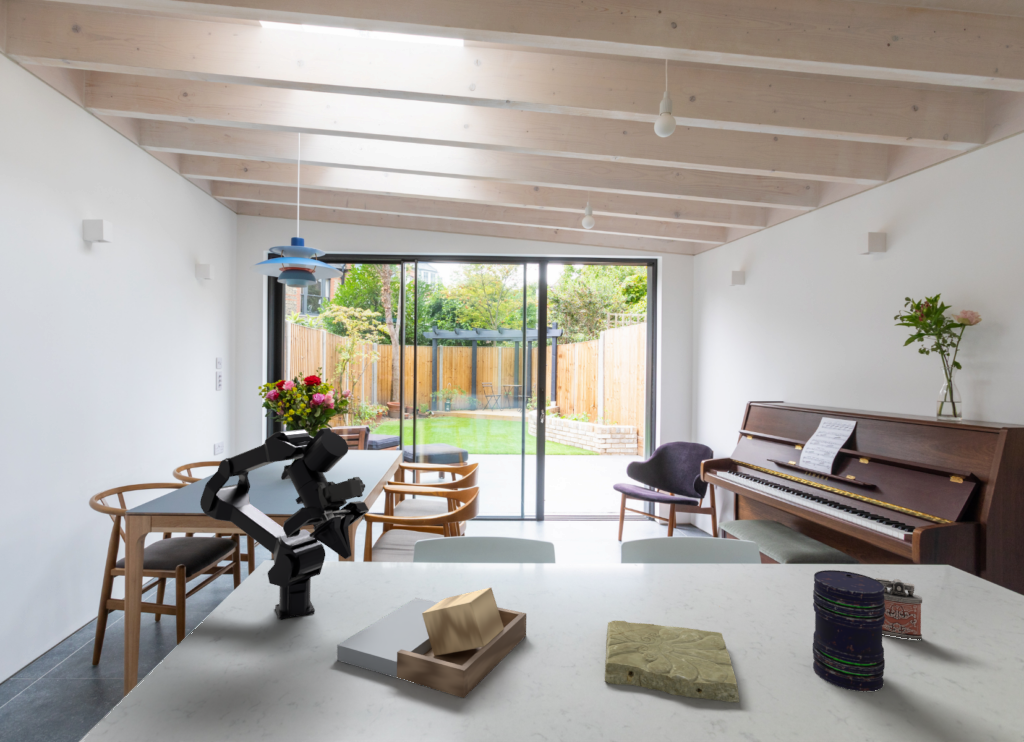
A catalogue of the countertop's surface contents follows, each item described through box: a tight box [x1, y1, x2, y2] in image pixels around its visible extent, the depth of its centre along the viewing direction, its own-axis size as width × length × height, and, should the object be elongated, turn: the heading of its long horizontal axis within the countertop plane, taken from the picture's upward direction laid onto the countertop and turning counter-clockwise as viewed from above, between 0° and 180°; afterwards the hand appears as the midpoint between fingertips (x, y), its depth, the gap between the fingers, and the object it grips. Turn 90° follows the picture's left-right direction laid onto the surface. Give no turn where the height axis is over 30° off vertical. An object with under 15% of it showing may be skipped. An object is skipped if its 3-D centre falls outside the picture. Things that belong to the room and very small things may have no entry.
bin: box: [397, 606, 527, 699], centre depth 95 cm, size 12×22×4 cm, turn 154°
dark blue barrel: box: [812, 569, 886, 693], centre depth 90 cm, size 10×10×15 cm
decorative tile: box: [604, 620, 740, 704], centre depth 93 cm, size 19×20×4 cm
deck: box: [336, 597, 439, 678], centre depth 100 cm, size 12×22×2 cm, turn 154°
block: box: [422, 587, 504, 656], centre depth 95 cm, size 7×7×10 cm
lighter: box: [874, 577, 923, 640], centre depth 104 cm, size 8×3×10 cm, turn 65°
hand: (348, 557), depth 105 cm, fingers closed
